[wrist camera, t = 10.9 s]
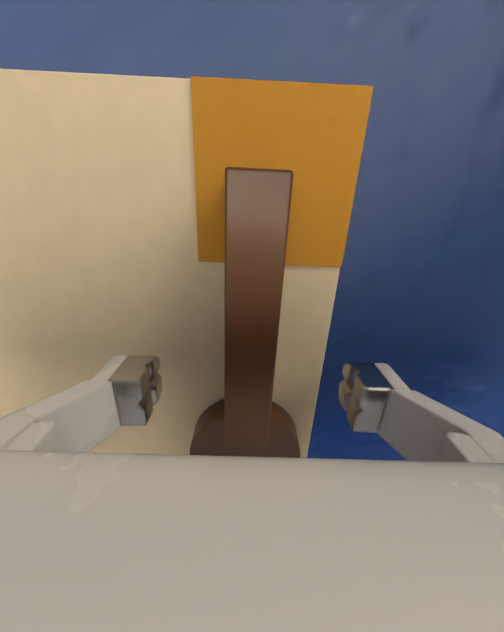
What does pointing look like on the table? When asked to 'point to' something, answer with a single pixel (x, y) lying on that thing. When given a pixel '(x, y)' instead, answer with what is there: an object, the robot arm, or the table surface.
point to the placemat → (162, 233)
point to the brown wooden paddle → (251, 320)
